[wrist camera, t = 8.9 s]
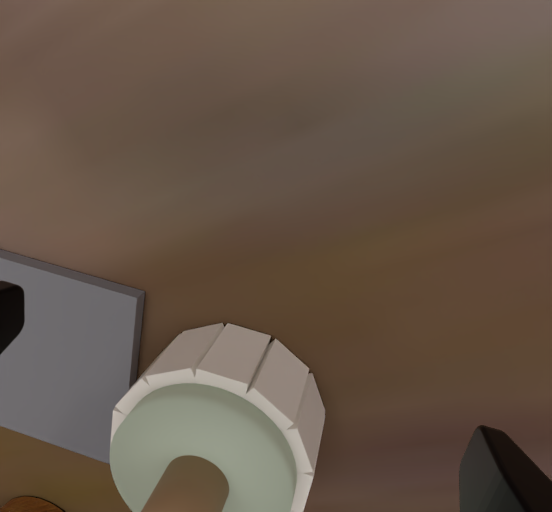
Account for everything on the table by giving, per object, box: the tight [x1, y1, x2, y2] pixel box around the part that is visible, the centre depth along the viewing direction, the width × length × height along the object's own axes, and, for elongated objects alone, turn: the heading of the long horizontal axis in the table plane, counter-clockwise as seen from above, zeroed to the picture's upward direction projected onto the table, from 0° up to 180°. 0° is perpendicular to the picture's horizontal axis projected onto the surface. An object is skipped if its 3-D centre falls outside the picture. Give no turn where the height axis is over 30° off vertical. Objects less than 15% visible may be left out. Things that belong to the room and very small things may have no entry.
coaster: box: [0, 249, 145, 464], centre depth 26 cm, size 11×11×1 cm
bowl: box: [110, 323, 326, 512], centre depth 22 cm, size 9×9×4 cm
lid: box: [110, 383, 297, 512], centre depth 18 cm, size 8×8×5 cm
